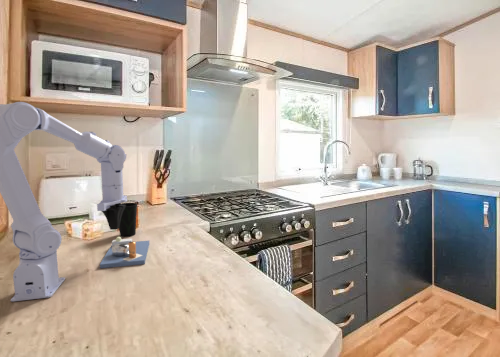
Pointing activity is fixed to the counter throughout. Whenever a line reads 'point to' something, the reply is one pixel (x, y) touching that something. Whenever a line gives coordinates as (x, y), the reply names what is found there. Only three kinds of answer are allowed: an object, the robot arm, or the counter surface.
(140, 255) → the plate
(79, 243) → the counter surface
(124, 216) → the cup
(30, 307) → the counter surface
